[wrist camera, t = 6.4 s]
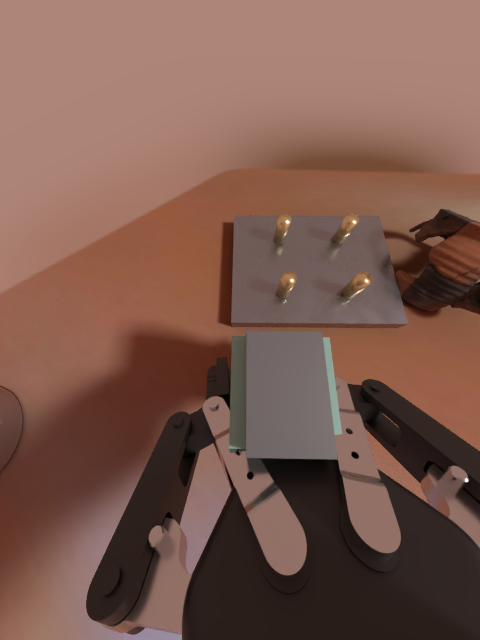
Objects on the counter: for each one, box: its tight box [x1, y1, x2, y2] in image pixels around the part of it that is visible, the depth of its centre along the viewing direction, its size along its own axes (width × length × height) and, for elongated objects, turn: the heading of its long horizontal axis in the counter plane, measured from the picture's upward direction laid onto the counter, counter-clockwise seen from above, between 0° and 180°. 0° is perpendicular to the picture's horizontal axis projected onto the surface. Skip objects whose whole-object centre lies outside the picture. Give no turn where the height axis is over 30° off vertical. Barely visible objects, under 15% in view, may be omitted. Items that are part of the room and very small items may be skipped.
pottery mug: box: [395, 209, 480, 314], centre depth 20 cm, size 12×10×8 cm
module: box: [229, 331, 342, 460], centre depth 13 cm, size 4×5×12 cm
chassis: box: [231, 213, 408, 328], centre depth 21 cm, size 18×14×4 cm
